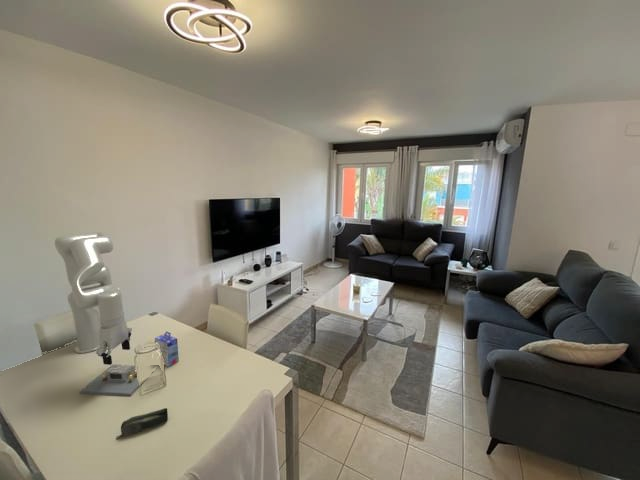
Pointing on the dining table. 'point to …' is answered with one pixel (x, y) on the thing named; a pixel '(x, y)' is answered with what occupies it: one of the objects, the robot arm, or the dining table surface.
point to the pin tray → (112, 385)
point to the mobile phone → (143, 422)
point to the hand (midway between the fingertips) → (117, 356)
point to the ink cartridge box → (168, 348)
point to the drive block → (119, 373)
